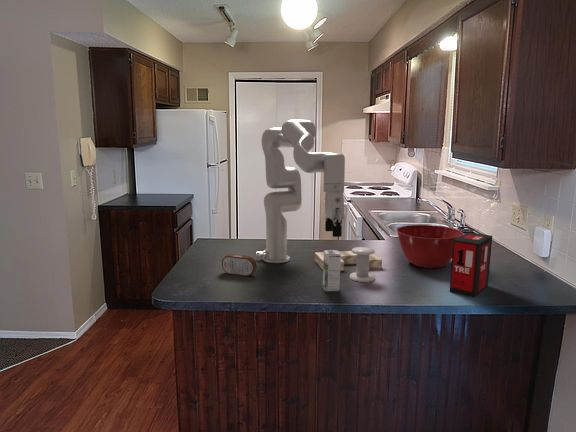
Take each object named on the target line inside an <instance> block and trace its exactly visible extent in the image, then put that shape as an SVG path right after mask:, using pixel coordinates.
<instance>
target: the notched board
mask: <svg viewBox="0 0 576 432" xmlns="http://www.w3.org/2000/svg"><path fill="white" fill-rule="evenodd" d="M338 251H339V250H338ZM339 252H340V254H341V266H340V272H342V271H345V265H356V261H357V254H355V253H353V252H352V250H343V251H341V250H340V251H339ZM314 263H316V264H317V266H319V268H320V269H321V270H322V271H323V264H324V251H323V252H322V251H321V252H320V251H319V252H314ZM382 266H383V259H382V258H381V257H379V256H378V255H376V254H375V253H374V254H371V255H369V270H378V269H382V268H383V267H382Z"/></svg>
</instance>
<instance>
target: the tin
mask: <svg viewBox="0 0 576 432" xmlns="http://www.w3.org/2000/svg"><path fill="white" fill-rule="evenodd" d="M221 260H222V261H221V267H222V270H223V271H224V273H226V274H229V275H231V276H233V275H234V276H240V277H241V276H242V277H250V276H252V275H253V274H255V272H256V271H257V267H258V266H257V262H256V260H255V258H253V257H252V256H250V255H245V254H244V255H243V254H236V253H229V254H228V253H227V255H225V256H224V257H223V258H222V259H221Z"/></svg>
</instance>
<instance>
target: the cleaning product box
mask: <svg viewBox="0 0 576 432" xmlns="http://www.w3.org/2000/svg"><path fill="white" fill-rule="evenodd" d="M492 245H493V235H490V234H489V235H488V234H482V233H475V232H467V233H465V234H464V233H463V235H462V236H460V237H459V238H457V239H455V240H453V253H452V259H451V267H450V269H451V271H450V282H449V293H452V294H457V295H460V296H461V295H462V296H465V297H471V298H475V297H476V296H478V295H479V294H480V293H481V292H482V291H484V290H485V289H486V288H487V287H488V286H489V279H490V278H489V276H490V267H491V266H490V265H491V255H492V247H493V246H492Z"/></svg>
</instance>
